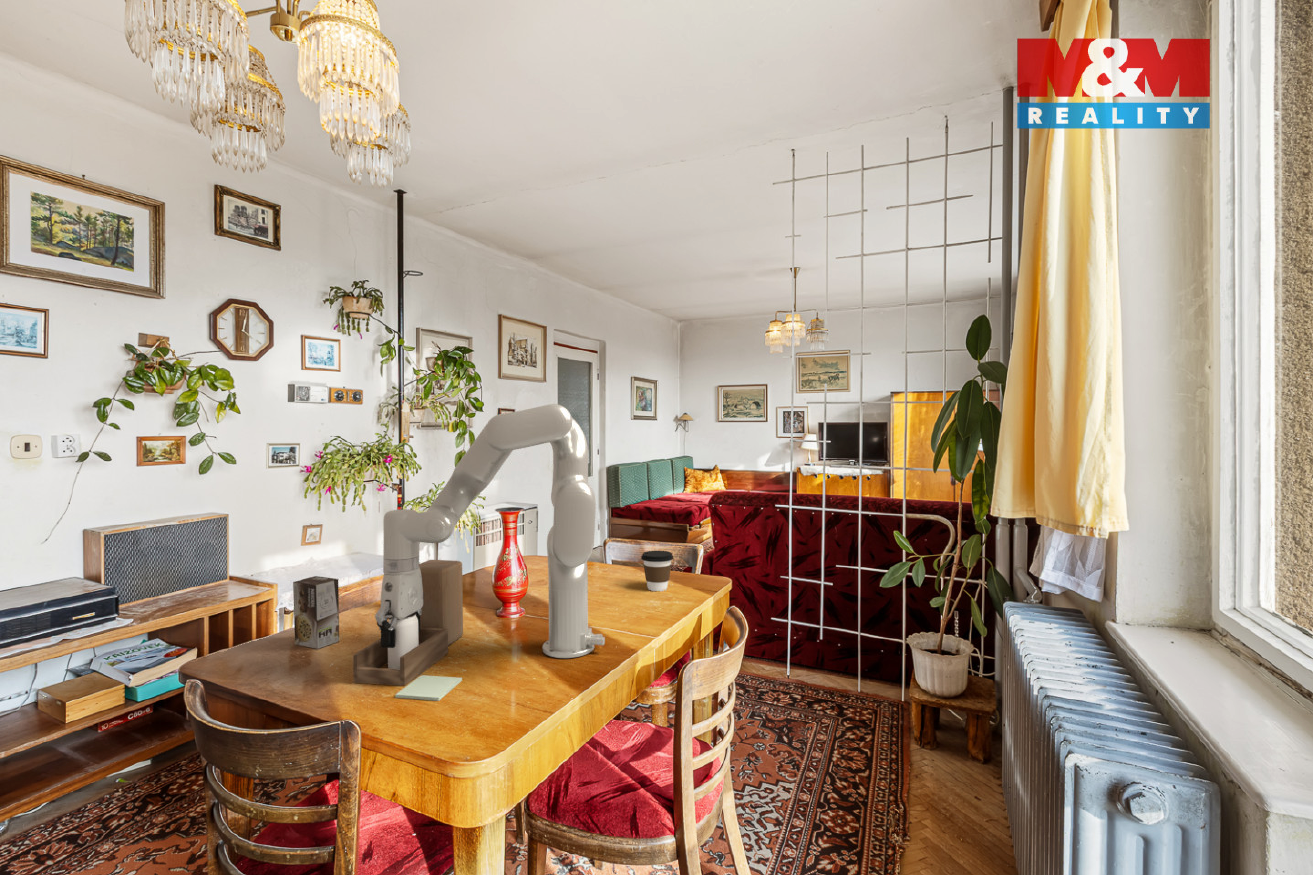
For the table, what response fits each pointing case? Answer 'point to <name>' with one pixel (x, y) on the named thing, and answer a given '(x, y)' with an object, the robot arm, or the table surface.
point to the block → (442, 597)
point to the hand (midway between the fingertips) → (401, 639)
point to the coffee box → (316, 611)
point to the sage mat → (428, 688)
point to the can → (403, 639)
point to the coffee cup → (657, 569)
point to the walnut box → (411, 663)
